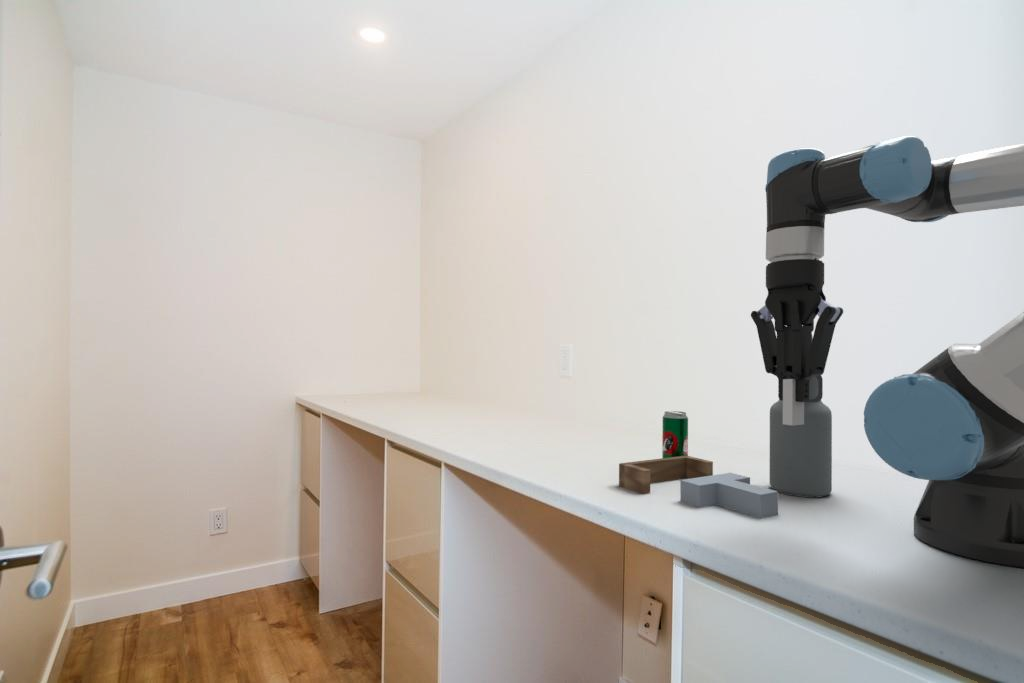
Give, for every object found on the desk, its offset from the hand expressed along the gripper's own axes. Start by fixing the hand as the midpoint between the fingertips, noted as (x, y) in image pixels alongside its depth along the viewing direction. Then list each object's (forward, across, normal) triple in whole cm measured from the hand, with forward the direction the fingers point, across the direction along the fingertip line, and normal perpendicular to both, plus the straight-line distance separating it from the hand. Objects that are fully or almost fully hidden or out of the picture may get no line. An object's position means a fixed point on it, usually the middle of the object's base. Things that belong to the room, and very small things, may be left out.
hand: (793, 424), depth 78 cm
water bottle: (+15, +11, -18) cm, 25 cm away
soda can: (+15, +33, -10) cm, 37 cm away
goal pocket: (+14, +25, 0) cm, 29 cm away
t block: (+14, +10, 0) cm, 17 cm away
